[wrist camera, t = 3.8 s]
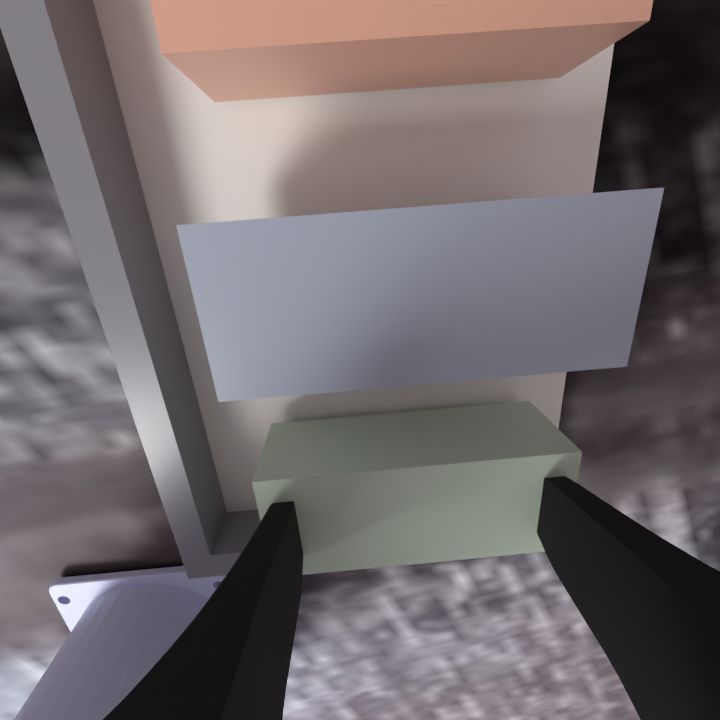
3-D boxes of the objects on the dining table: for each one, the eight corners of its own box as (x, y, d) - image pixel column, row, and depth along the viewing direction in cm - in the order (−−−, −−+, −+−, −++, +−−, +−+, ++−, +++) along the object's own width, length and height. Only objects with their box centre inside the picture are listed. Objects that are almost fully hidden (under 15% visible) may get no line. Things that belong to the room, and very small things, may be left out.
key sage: (520, 483, 14) (565, 549, 11) (286, 505, 14) (273, 577, 11) (529, 400, 13) (582, 451, 10) (271, 423, 13) (252, 481, 10)
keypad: (533, 482, 16) (580, 546, 13) (216, 511, 16) (185, 584, 13) (612, -154, 9) (756, -350, 6) (42, -121, 9) (-124, -309, 6)
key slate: (553, 328, 11) (626, 366, 8) (250, 353, 11) (218, 402, 8) (569, 196, 10) (664, 187, 7) (224, 222, 9) (176, 225, 7)
